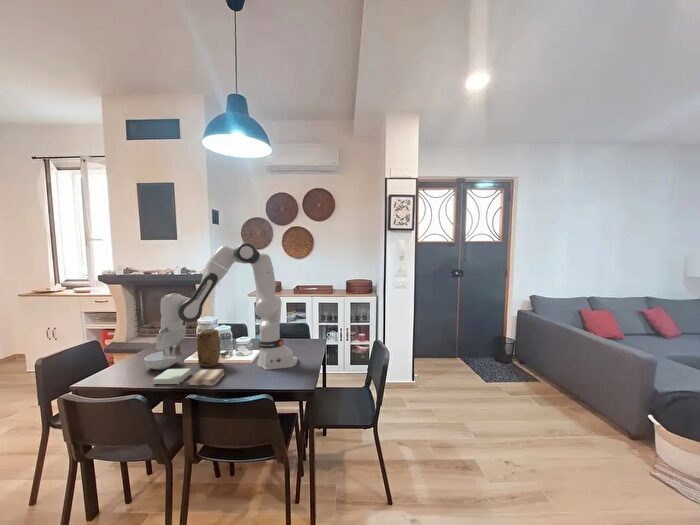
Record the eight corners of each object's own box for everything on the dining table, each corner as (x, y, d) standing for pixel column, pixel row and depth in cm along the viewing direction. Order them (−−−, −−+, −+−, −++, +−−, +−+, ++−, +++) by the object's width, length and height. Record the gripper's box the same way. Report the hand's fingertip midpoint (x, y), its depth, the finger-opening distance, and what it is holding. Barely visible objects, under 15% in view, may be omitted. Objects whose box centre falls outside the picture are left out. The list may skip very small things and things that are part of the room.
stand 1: (191, 374, 152) (190, 368, 152) (178, 384, 140) (178, 378, 140) (167, 374, 152) (167, 369, 152) (153, 385, 140) (153, 379, 140)
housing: (181, 354, 149) (181, 341, 148) (175, 358, 143) (175, 344, 143) (168, 355, 148) (167, 341, 148) (161, 359, 143) (161, 344, 143)
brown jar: (221, 362, 168) (220, 329, 167) (213, 367, 160) (212, 332, 159) (204, 362, 169) (203, 328, 168) (195, 367, 161) (194, 332, 161)
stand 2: (223, 374, 151) (223, 369, 151) (214, 385, 139) (214, 379, 139) (200, 375, 151) (200, 369, 151) (189, 386, 139) (188, 379, 139)
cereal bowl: (170, 359, 174) (170, 347, 174) (186, 364, 165) (185, 352, 165) (138, 369, 159) (138, 356, 159) (153, 375, 151) (153, 362, 151)
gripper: (165, 331, 135) (166, 360, 135) (187, 320, 155) (188, 345, 156) (151, 331, 135) (152, 360, 135) (176, 320, 155) (176, 346, 156)
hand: (172, 352), depth 146 cm, fingers closed on housing, 5 cm apart
